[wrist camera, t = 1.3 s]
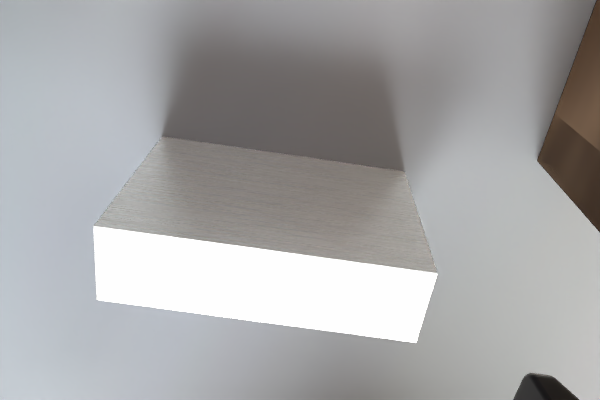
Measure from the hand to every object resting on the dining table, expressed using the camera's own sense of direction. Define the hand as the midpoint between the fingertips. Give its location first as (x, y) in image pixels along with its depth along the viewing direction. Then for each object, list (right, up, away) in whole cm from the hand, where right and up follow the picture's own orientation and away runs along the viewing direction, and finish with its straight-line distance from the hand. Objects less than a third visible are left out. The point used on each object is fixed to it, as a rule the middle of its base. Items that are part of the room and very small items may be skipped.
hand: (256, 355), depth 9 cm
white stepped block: (0, +2, +5) cm, 6 cm away
